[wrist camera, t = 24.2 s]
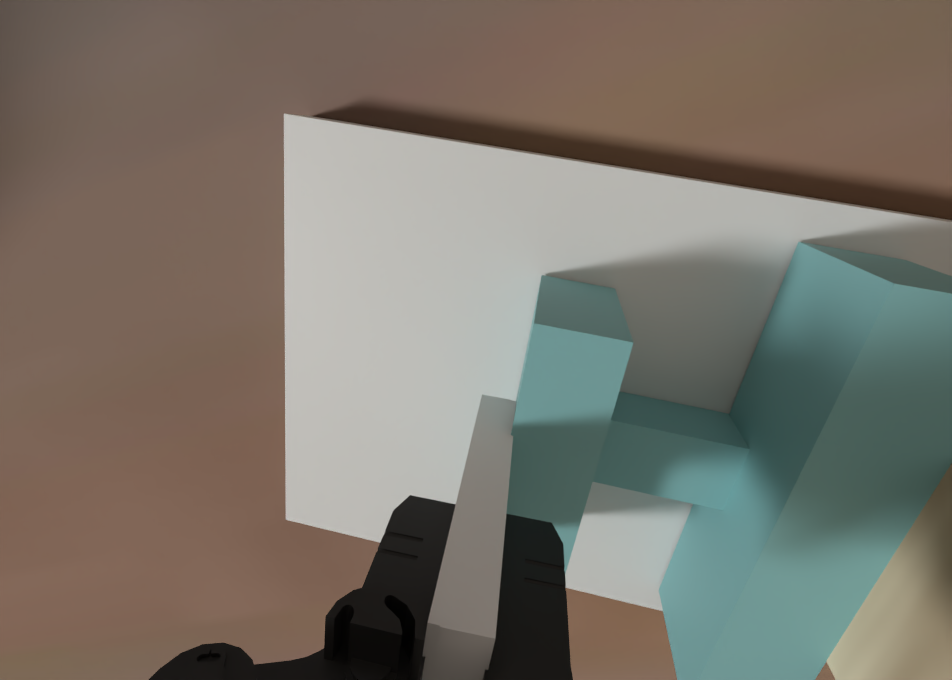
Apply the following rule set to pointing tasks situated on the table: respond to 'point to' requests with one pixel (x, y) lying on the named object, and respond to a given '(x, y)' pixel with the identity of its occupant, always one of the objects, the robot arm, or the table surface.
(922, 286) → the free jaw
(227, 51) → the table surface
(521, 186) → the bed
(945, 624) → the birch block
